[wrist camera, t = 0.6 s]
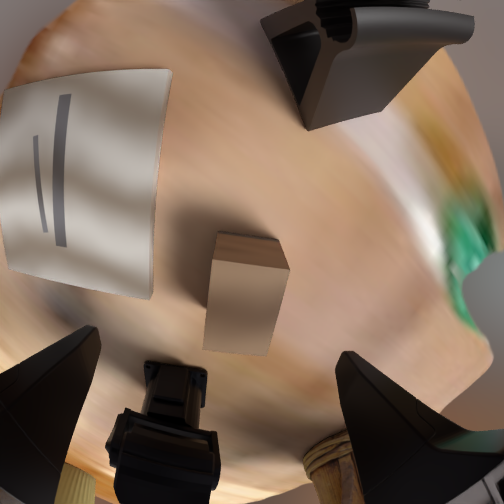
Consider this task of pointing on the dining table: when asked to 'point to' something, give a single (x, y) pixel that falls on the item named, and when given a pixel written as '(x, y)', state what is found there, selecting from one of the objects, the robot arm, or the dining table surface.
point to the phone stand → (357, 52)
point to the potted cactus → (75, 486)
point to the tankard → (334, 471)
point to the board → (83, 178)
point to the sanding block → (244, 294)
